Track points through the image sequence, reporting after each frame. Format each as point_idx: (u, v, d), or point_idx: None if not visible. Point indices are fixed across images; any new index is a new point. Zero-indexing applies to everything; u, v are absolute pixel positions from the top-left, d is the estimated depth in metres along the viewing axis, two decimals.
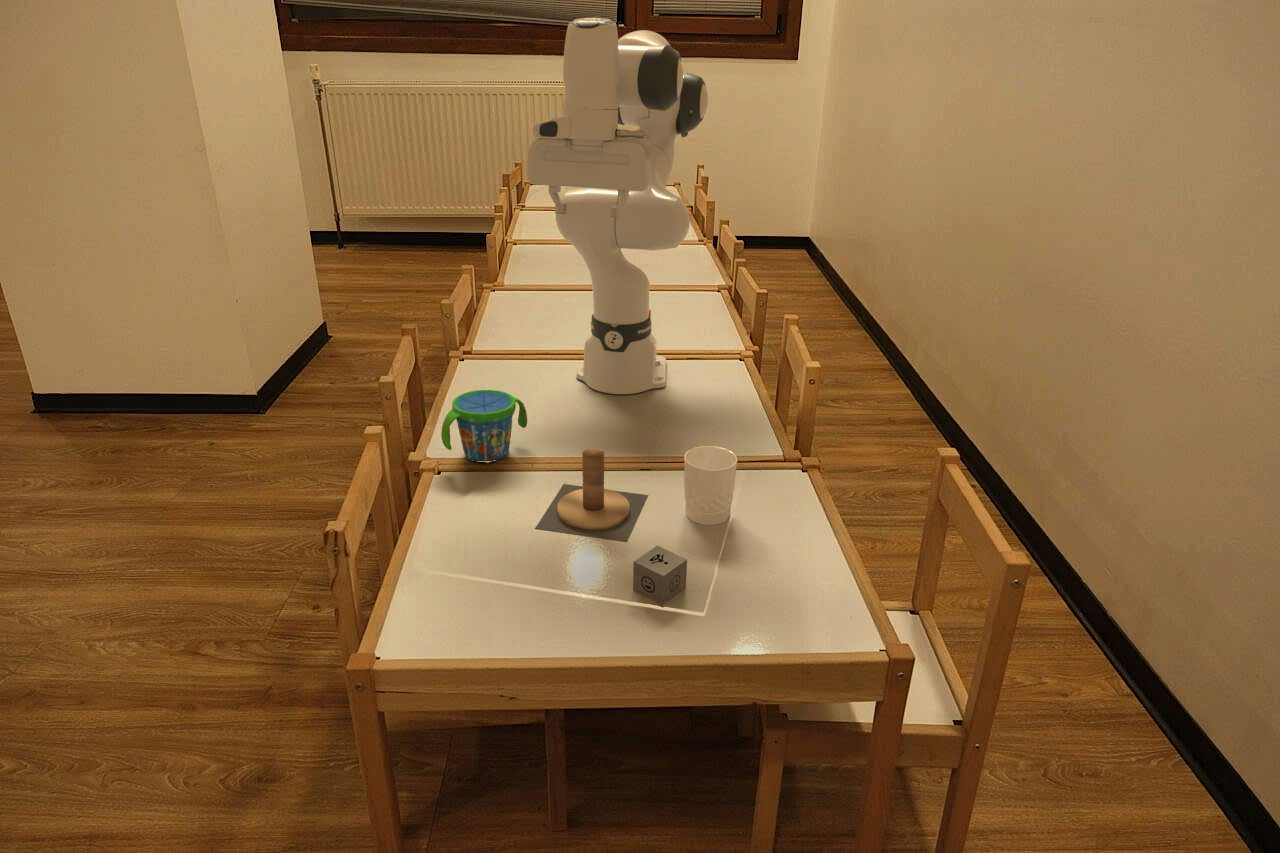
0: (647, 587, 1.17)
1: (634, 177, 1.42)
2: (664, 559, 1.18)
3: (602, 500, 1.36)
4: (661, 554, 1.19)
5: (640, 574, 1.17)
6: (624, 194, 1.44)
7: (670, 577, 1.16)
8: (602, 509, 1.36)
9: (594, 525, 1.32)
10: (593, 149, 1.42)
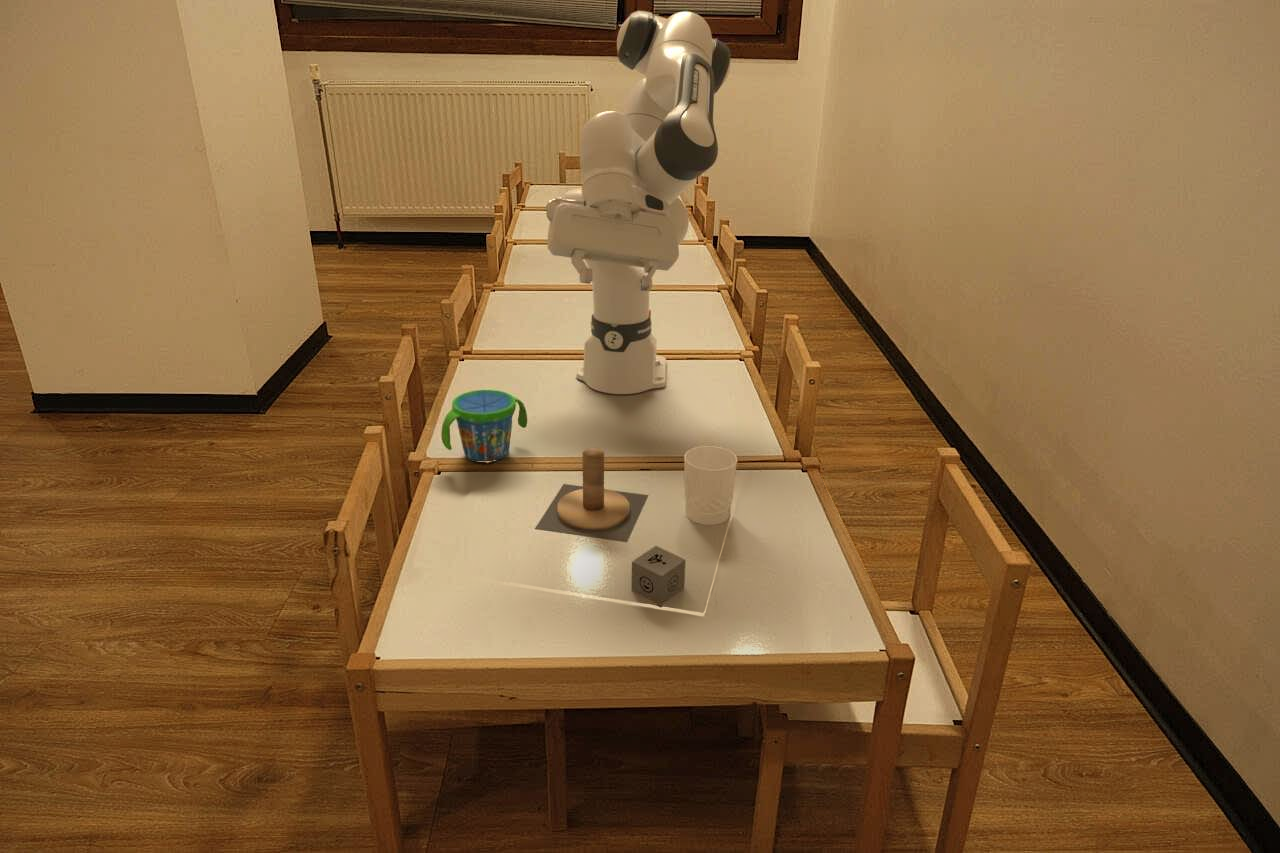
0: (645, 588, 1.17)
1: None
2: (662, 559, 1.18)
3: (602, 500, 1.36)
4: (659, 554, 1.19)
5: (638, 574, 1.17)
6: None
7: (668, 577, 1.16)
8: (602, 509, 1.36)
9: (594, 525, 1.32)
10: None
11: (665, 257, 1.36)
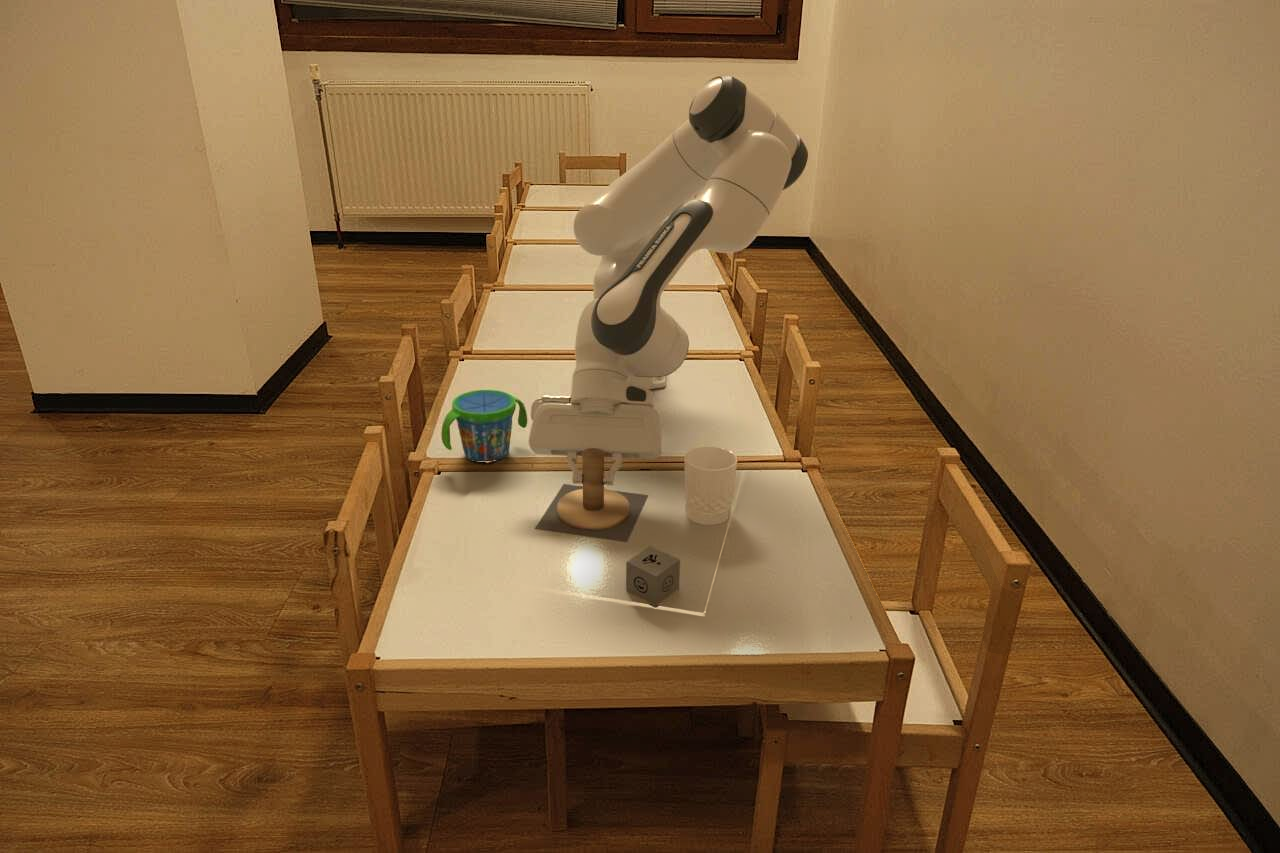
0: (640, 588, 1.17)
1: None
2: (657, 559, 1.18)
3: (602, 500, 1.36)
4: (654, 554, 1.19)
5: (633, 574, 1.17)
6: None
7: (663, 577, 1.16)
8: (602, 509, 1.36)
9: (594, 525, 1.32)
10: None
11: (645, 450, 1.34)
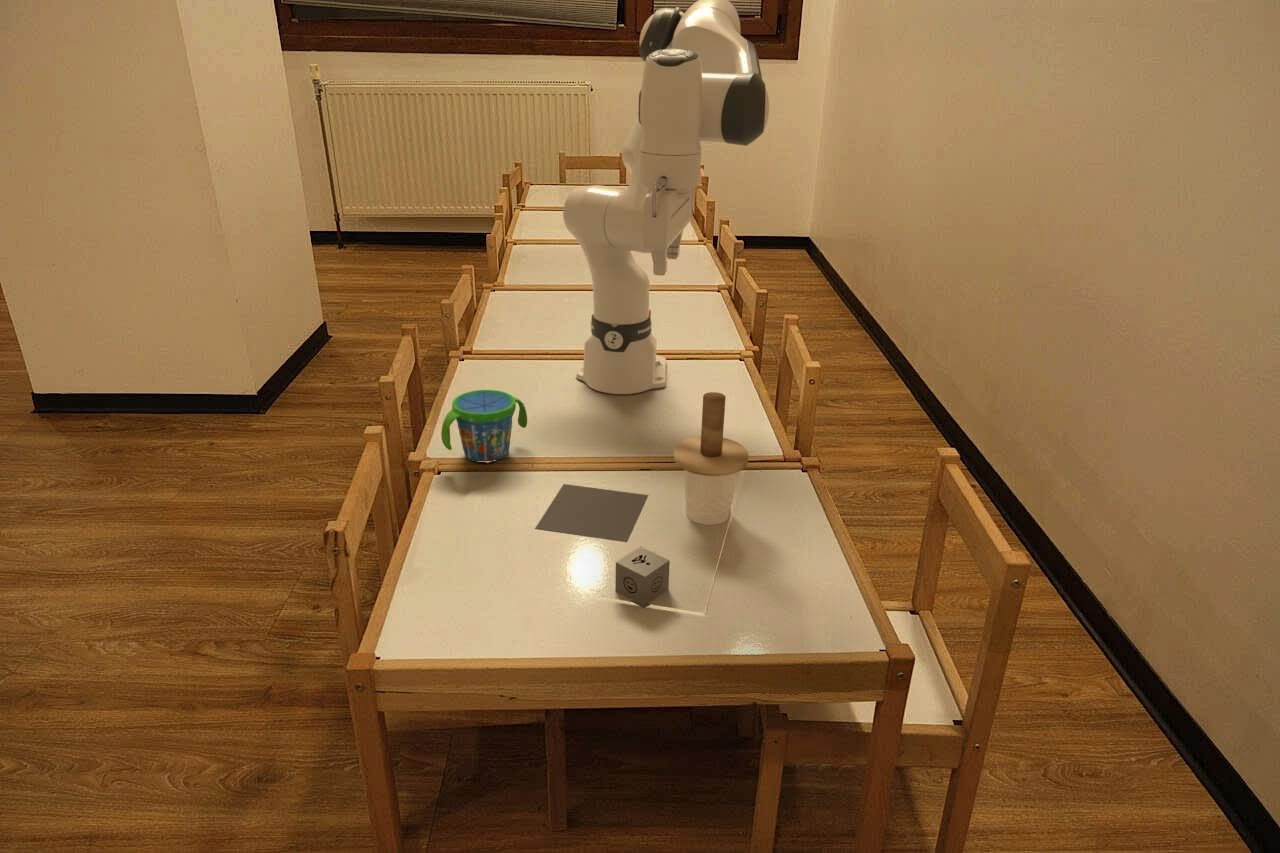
0: (629, 588, 1.17)
1: None
2: (646, 560, 1.17)
3: (721, 446, 1.31)
4: (644, 555, 1.19)
5: (622, 574, 1.17)
6: None
7: (652, 578, 1.16)
8: (721, 455, 1.32)
9: (716, 470, 1.28)
10: None
11: (688, 222, 1.39)
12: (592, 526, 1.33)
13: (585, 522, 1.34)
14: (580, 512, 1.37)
